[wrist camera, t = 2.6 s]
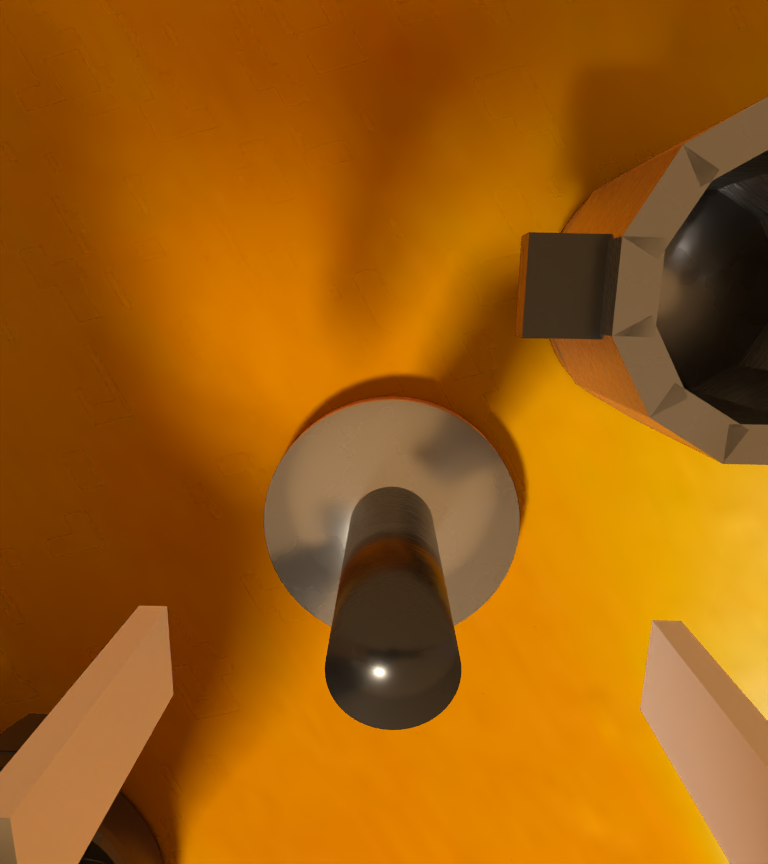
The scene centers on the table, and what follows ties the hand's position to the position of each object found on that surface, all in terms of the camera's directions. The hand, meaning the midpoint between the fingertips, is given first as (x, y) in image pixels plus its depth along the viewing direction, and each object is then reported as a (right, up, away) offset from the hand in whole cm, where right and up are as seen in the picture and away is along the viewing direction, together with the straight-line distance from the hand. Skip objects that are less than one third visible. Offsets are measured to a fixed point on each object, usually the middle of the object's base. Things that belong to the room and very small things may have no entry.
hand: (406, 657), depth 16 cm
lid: (0, +2, +10) cm, 11 cm away
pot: (+11, +12, +8) cm, 18 cm away
